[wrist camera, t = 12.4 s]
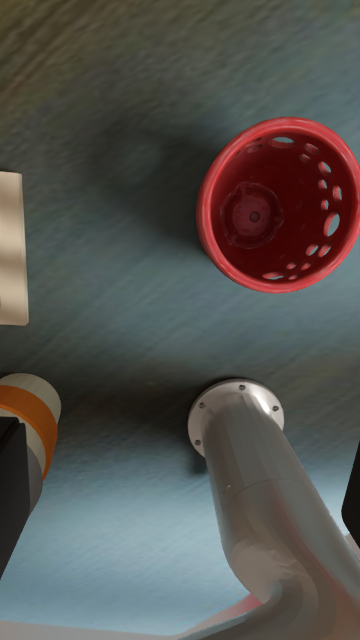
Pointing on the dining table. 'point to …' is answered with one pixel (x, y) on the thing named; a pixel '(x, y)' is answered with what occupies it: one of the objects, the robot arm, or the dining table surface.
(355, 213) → the plant pot
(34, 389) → the reusable coffee cup
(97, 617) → the dining table surface
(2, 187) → the socket stand
